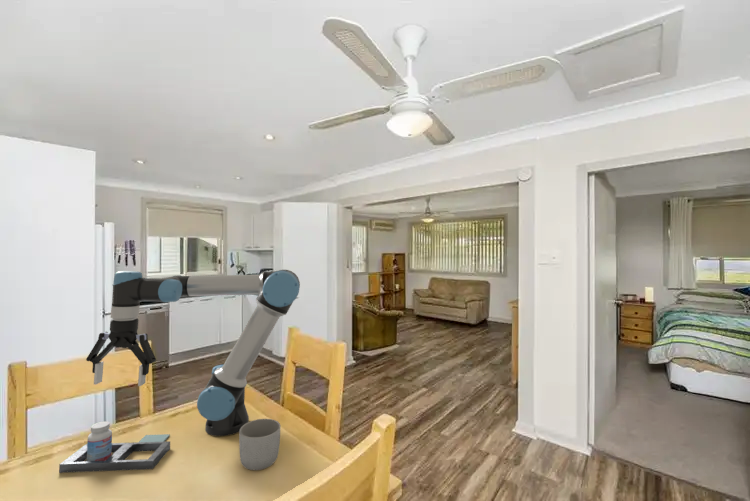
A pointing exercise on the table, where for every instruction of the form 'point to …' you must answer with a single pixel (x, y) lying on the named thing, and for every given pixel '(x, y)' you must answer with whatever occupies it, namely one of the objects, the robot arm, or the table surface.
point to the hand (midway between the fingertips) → (119, 383)
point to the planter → (259, 443)
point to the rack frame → (116, 458)
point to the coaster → (155, 438)
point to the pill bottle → (99, 442)
